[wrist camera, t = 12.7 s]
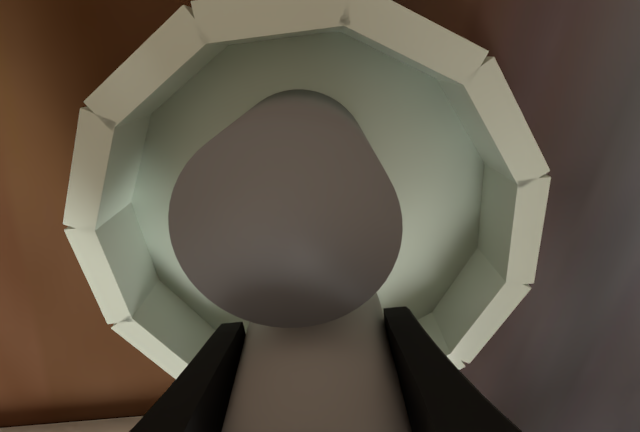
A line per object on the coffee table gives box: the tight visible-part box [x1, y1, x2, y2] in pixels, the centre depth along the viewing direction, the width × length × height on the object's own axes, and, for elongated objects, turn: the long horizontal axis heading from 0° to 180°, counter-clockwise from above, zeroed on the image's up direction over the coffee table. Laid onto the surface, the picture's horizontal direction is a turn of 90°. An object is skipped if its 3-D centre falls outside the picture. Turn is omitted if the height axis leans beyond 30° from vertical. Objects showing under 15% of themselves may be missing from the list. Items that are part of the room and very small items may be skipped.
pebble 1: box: [168, 89, 403, 328], centre depth 8 cm, size 4×4×5 cm
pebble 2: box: [221, 293, 412, 432], centre depth 9 cm, size 4×4×5 cm
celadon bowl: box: [63, 0, 551, 379], centre depth 11 cm, size 13×13×3 cm
